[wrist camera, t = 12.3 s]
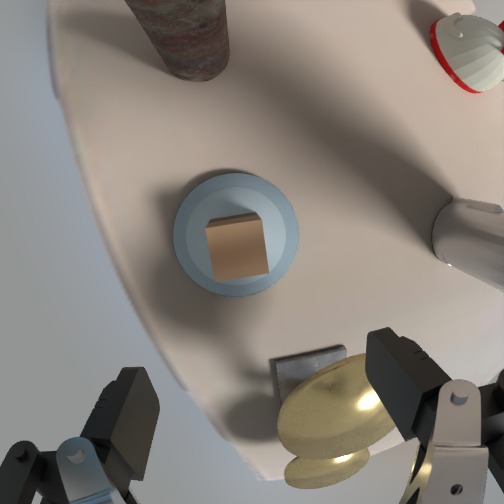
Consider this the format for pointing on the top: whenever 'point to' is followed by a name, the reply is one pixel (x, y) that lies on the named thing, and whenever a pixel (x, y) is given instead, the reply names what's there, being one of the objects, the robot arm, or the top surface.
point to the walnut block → (237, 246)
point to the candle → (187, 35)
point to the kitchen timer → (470, 50)
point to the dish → (228, 204)
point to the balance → (327, 416)
